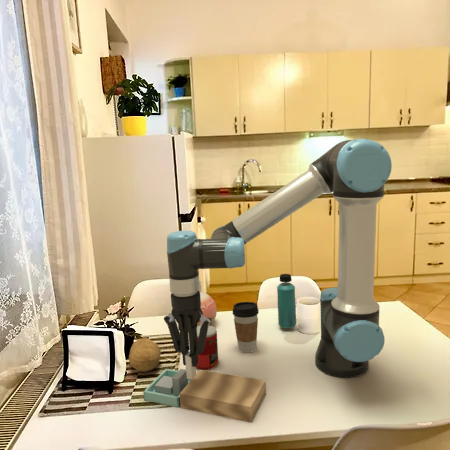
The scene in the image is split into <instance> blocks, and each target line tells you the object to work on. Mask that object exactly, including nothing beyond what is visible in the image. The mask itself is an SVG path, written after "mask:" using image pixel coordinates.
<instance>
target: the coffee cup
mask: <svg viewBox="0 0 450 450" xmlns="http://www.w3.org/2000/svg"><path fill="white" fill-rule="evenodd" d="M259 312H260V310H259V307H258V303H256V302H253V301H239V302H237V303H234V305H233V308H232V315H233V318H234V319H233V323H234V329H235V336H236V340H237V348H238V351H240V352H241V353H252V352H255V351H256V350H257V341H258V340H257V338H258V327H259V326H258V324H259V323H258V322H259V318H258V314H260V313H259Z"/></svg>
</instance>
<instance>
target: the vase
mask: <svg viewBox="0 0 450 450" xmlns="http://www.w3.org/2000/svg"><path fill="white" fill-rule="evenodd" d="M199 284H200V289H199V291H200V298H201V310H202V312H203V316H205V317H206V318H207V319H208V318H211V320H212V321H211V323H210V324H209V325H211V324H212V323H213V322H214V321H215V319H216V318H217V311H218V308H217V304H216V303H215V300H214V299H213V298H212V296H210V294H207V293H206V292H204V291H202V283H201V279H199ZM200 322H201V320H199V322H198V323H197V326H201V325H200Z"/></svg>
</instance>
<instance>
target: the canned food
mask: <svg viewBox="0 0 450 450" xmlns="http://www.w3.org/2000/svg"><path fill="white" fill-rule="evenodd" d="M200 328H201V326H197V339H199V333H200ZM217 333H218V332H217V328H216V327H215V326H213V325H209V326H208V331H207V337H206V343H205V348H204V351H203V352H202V353H201V354H200V355H198V365H197V366H196V369H198V370H205V371H209V370H211V369H215V368H216V367H217V366H218V364H219V347H218V334H217Z"/></svg>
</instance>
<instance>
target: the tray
mask: <svg viewBox="0 0 450 450" xmlns="http://www.w3.org/2000/svg"><path fill="white" fill-rule="evenodd" d="M178 371H179V370H175V369H174V370H173V369H169V368H165V369H164V370H163V371H162V372H161V373H160V374H159V375H158V376H157V377H156V378H155V379H154V380H153V381H152V382H151V383H150V384H149V385H148V386H147V387H146V388H145V389H144V390H143V392H142V393H143V394H142V395H143V400H144V401H146V402H151V403H156V404H161V405H164V406H165V405H166V406H169V407H170V406H171V407H174V408H175V407H176V408H181V403H180V394H179V396H174V395H173V394H172V395H168V394H162V393H157V392H155V386H154V385H155V384H156V383H157V382H158V381H159V380H160V379H161V378H162V377H163V376H168V377H174V375H175V374H176V373H177V372H178ZM190 381H191V379H188V383H189V382H190Z"/></svg>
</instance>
